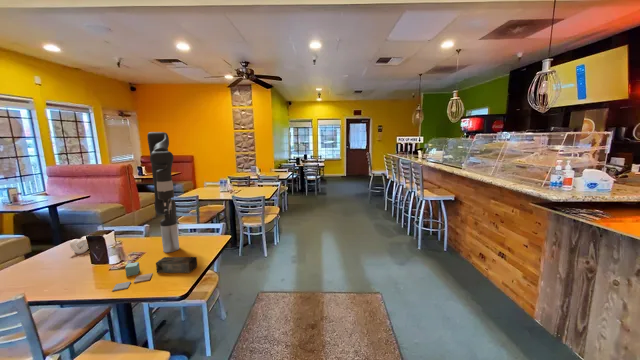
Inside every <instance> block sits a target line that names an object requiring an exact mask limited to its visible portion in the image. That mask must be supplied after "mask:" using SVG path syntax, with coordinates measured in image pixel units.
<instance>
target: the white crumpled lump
mask: <svg viewBox="0 0 640 360" xmlns="http://www.w3.org/2000/svg"><path fill="white" fill-rule="evenodd" d="M69 248H70V249H71V251H73V252H74V253H75V254H79V255H81V254H84V253H86V252H87V250H88V245H87V240H86V235H84V236H82V237H80V239H78V238H75V239H72V240H71V241H70V242H69ZM88 251H89V250H88Z"/></svg>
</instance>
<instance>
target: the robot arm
mask: <svg viewBox="0 0 640 360" xmlns="http://www.w3.org/2000/svg"><path fill="white" fill-rule="evenodd" d="M146 137H147V144H148V149H149V161H150V164H151V175H152V182H153V189H154V206H155V207H154V208H155V209H154V210H155V213H156V214H157V215H158V216H159V215H164V218H162V219H161V220H160V222H159V223H160V224H159V225H160V233H161V243H162V249H163V252H164V253H173V252H177V251H178V250H180V242H179V241H180V240H179V232H178V231H179V230H178V221H177V219H178V217H177V203H176V201H175V199H173V198H174V197H175V191H174V190H175V189H174V183H173V179H172V168H173V167H172V166H173V164H174V154H173V153H172V152H171V151H169V146H170V138H169V135H168V133H167V132H164V131H150V132H148V133H147V135H146Z"/></svg>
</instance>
